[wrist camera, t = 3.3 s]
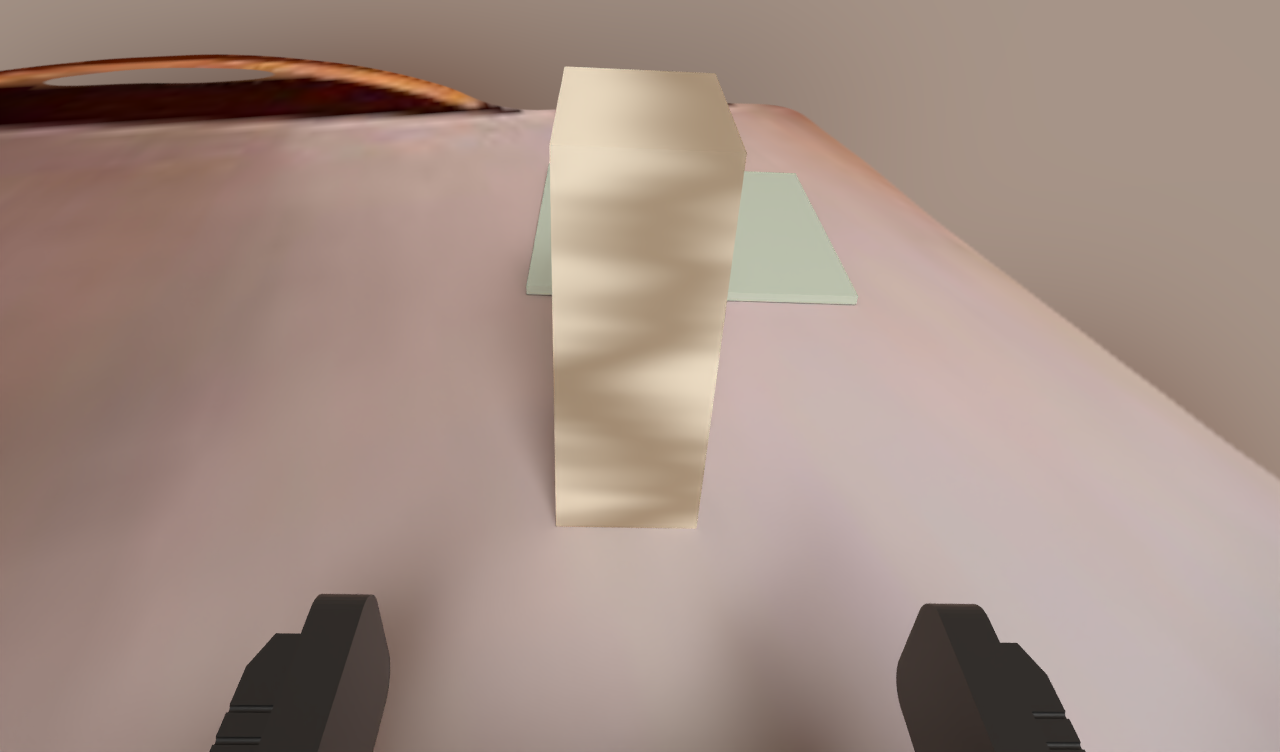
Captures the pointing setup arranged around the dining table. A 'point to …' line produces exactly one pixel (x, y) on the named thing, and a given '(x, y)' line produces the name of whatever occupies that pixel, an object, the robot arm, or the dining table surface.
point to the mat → (751, 247)
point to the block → (638, 289)
